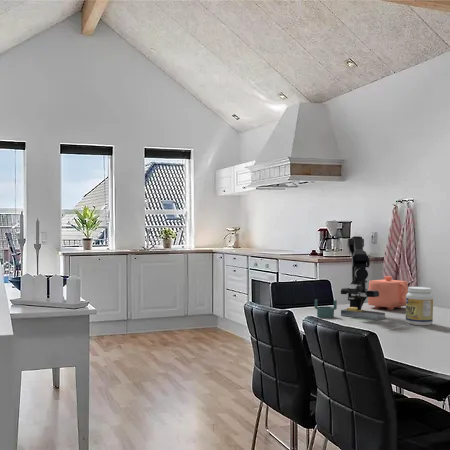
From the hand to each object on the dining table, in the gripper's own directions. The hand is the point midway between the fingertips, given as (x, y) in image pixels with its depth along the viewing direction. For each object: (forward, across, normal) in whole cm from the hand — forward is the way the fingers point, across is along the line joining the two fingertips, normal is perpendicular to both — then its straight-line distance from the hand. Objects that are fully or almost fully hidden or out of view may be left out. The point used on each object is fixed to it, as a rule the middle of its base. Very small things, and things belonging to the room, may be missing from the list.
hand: (359, 309), depth 299 cm
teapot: (+4, -7, +47) cm, 48 cm away
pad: (+4, +7, -10) cm, 13 cm away
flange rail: (+4, +3, 0) cm, 5 cm away
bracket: (+4, -11, -13) cm, 18 cm away
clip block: (+2, -1, 0) cm, 2 cm away
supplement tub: (+4, +29, +5) cm, 30 cm away
